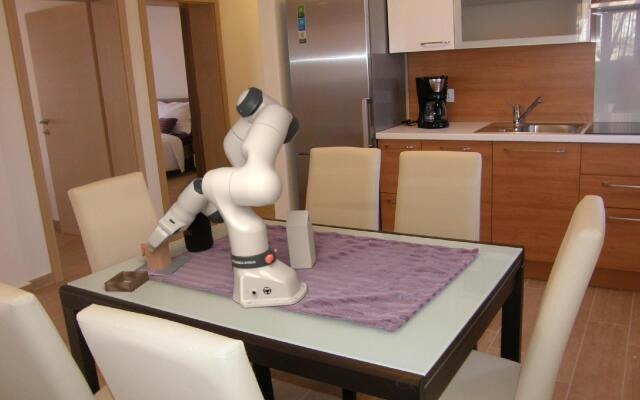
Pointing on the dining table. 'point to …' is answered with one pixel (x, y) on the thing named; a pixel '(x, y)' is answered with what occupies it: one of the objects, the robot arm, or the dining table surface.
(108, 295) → the dining table surface
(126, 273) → the tray
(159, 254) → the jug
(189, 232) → the coffee jar
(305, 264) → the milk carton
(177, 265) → the mat
